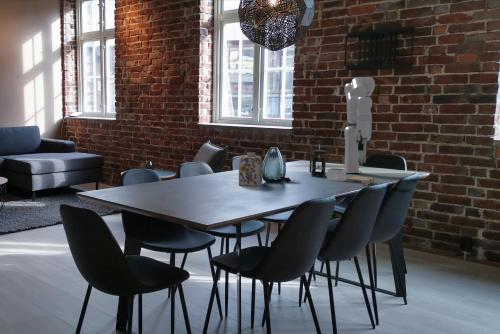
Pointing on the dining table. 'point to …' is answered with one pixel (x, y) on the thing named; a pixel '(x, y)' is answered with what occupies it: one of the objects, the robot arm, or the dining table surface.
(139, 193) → the dining table surface
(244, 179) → the decorative jar
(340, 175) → the stand base
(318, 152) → the black lantern
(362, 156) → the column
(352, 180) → the tan flat square block
